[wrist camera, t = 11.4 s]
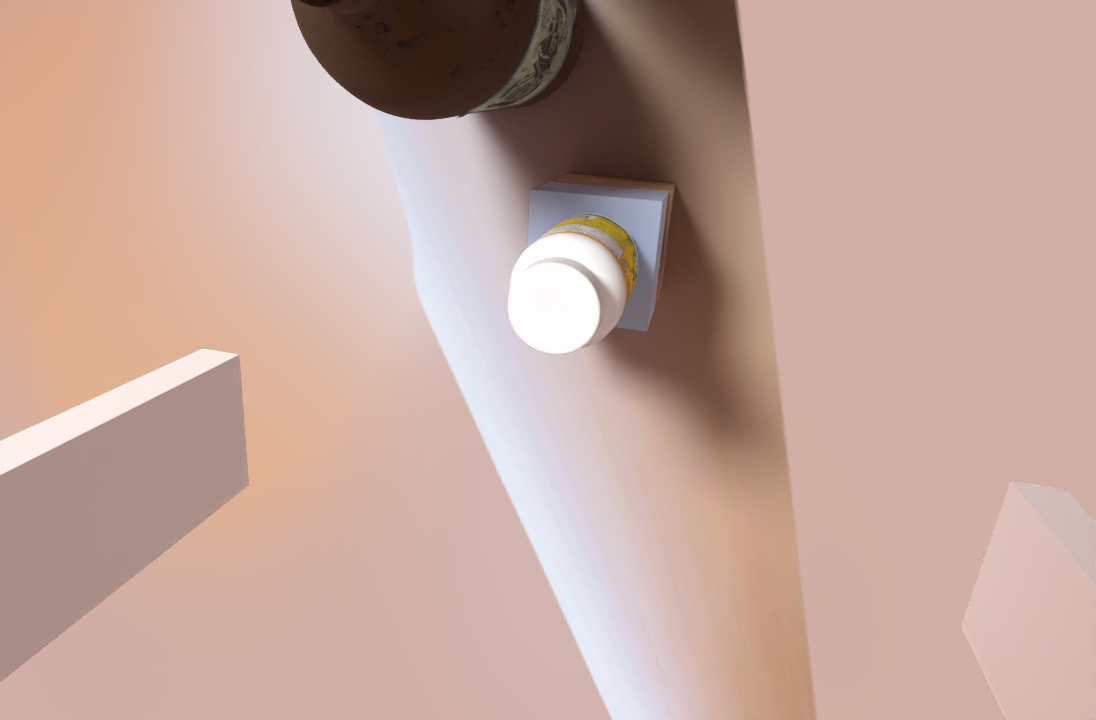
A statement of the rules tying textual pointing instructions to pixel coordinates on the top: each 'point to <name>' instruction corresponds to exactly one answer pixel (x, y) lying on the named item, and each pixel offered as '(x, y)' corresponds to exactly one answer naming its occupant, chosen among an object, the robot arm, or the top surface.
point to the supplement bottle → (572, 284)
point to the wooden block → (635, 185)
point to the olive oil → (444, 51)
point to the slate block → (623, 205)
